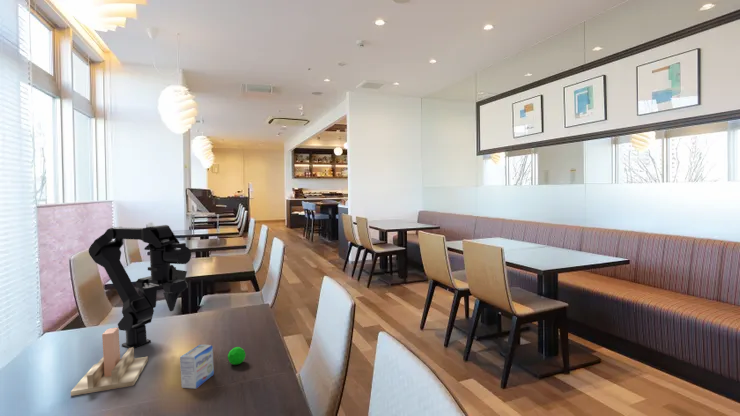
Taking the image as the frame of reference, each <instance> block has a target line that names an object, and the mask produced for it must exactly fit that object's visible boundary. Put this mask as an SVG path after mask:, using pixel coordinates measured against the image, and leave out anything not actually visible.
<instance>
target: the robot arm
mask: <svg viewBox="0 0 740 416" xmlns="http://www.w3.org/2000/svg"><path fill="white" fill-rule="evenodd" d="M124 240H138V241H139V240H140V241H142V242H143V243H146V244H147V245H146V246H145V247H144V249H143V250H145V251H149V260H150V261H149V262H150V266H148V267H147V271H150V276H145V277H142V278H138V279H137V280H136V281H135V286H134V284H133V282H132V280H131V278H130V276H129V275H128V273H127V270H126V269H125V267H124V265H123V264H122V261H121V257H122V251H121V248H122V247H123V246H124ZM88 254H89V256H90V257H91V259H92V260H93V261H94V263H95V264H97V265H99V266H100V267H102V268H103V269H104V270H105V272H106V274H107V276H108V277H109V279H110V282H111V283H112V285H113V287H114V289H115V290H116V292H117V294H118V296H119V298H120V299H121V302H122V307H121V308H122V310H121V314H122V316H123V317H122V318H121V319H120V320H119V322H118V323H117V328H118V327H119V331H125V342H124V343H121V346H122V347H125V348H128V349H129V348H132V347H134V349H135V348H137V347H141V346H144V345H145V344H148V343H151V342H152V340H151V339H148V338H147V325H148V324H150V323H152V321H153V315H154V312H155V310H154V308H156V307H157V294H158V293H157V292H158V289H159V288H160V287H162V288H163V289H162V290H163V291H164V292H163V297H164V299H165V302H166V305H167V308H168V310H169V312H173V311H174V310H175V308H176V304H177V301H178V298H179V295H180V294H181V293H182V292H185V290H186V289H188V282H187V280H186V277H187V274H188V271H187V270H181V269H177V267H175V265H186V264H188V263H189V262H191V261H190V260H191V258H192V251H191V250H190V248H189V247H188V246H187V243H185V242H180V241H179V239H178V238H177V237H176V235H175V233H174V231H172V229H171V227H170V226H169V225H167V224H162V225H154V226H148V227H123V226H115V227H113V226H112V227H110V228H107V229H106V230H105V232H104V233H103V234H102V235H100V236H99V237H98V238H96V239H95V240H94V241H93V242H92V243H91V244H90V246H89V248H88ZM174 264H175V265H174ZM136 288H138V290H139V291H140V292H141V294H142V295H143V297H142V296H141V295H140V294H139V292H138V291H137V289H136Z"/></svg>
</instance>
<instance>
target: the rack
mask: <svg viewBox="0 0 740 416" xmlns="http://www.w3.org/2000/svg"><path fill="white" fill-rule="evenodd" d="M148 361H149V356H147V355H146V356H143V357H135V348H134V347H132V348H129V347H128V349H127V350H126V351H125V353H124V354H123V355H122V356H121V357H120V361H119V362H118V363H117V365H116V366H115V368H114V369H113V370H112V372H111V374H112V376H107V377H105V375H104V358H103V357H101V358H100V359H99V361H98V362H97V363H94V364H93V365H92V366H91V367H90V369H89V370H88V371H87V372H86V373H85V375H84V376H83V377H82V378H81V379H80V380H79V381H78V383H77V384H76V385H75V386H74V387H73V388H72V390H70V396H71V397H73V396H78V395H80V396H81V395H86V394H90V393H95V392H97V393H99V392H103V391H104V392H105V391H108V390H114V389H120V388H121V389H122V388H127V387H133V386H135V384H136V382H137V380H138V378H139V377H140V376H141V373H142V372H143V370H144V368H145V367H146V365H147V363H148Z"/></svg>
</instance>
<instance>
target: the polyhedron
mask: <svg viewBox="0 0 740 416" xmlns="http://www.w3.org/2000/svg"><path fill="white" fill-rule="evenodd" d="M227 359H228V363H230V364H231V365H233V366H237V365H240V364H242V363H243V362H244V361H245V359H246V351H245V350H244V349H243V348H242V347H240V346H236V347H233V348H232V349H231V350H229V352H228V354H227Z"/></svg>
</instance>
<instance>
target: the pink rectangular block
mask: <svg viewBox="0 0 740 416" xmlns="http://www.w3.org/2000/svg"><path fill="white" fill-rule="evenodd" d="M119 332H120V330H119V327H118V326H117V327H111V328H107V329H106V330H105V331H104V332H103V333H102V335H101V336H102V340H101V341H102V353H103V354H102V358H104V375H105V377H107V376H112V374H111V372H112V370H113V369H114V368H115V366H116V365H117V363H118V362H119V361H120V359H121V351H120V349H121V347H120V345H121V344H120V333H119Z"/></svg>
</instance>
